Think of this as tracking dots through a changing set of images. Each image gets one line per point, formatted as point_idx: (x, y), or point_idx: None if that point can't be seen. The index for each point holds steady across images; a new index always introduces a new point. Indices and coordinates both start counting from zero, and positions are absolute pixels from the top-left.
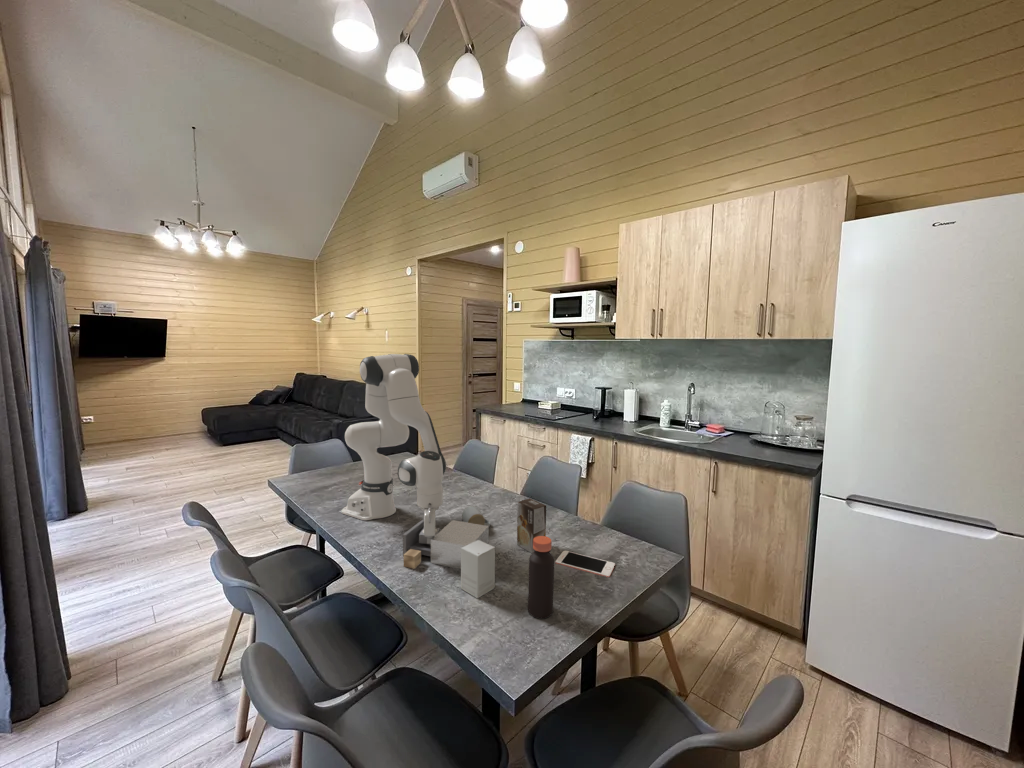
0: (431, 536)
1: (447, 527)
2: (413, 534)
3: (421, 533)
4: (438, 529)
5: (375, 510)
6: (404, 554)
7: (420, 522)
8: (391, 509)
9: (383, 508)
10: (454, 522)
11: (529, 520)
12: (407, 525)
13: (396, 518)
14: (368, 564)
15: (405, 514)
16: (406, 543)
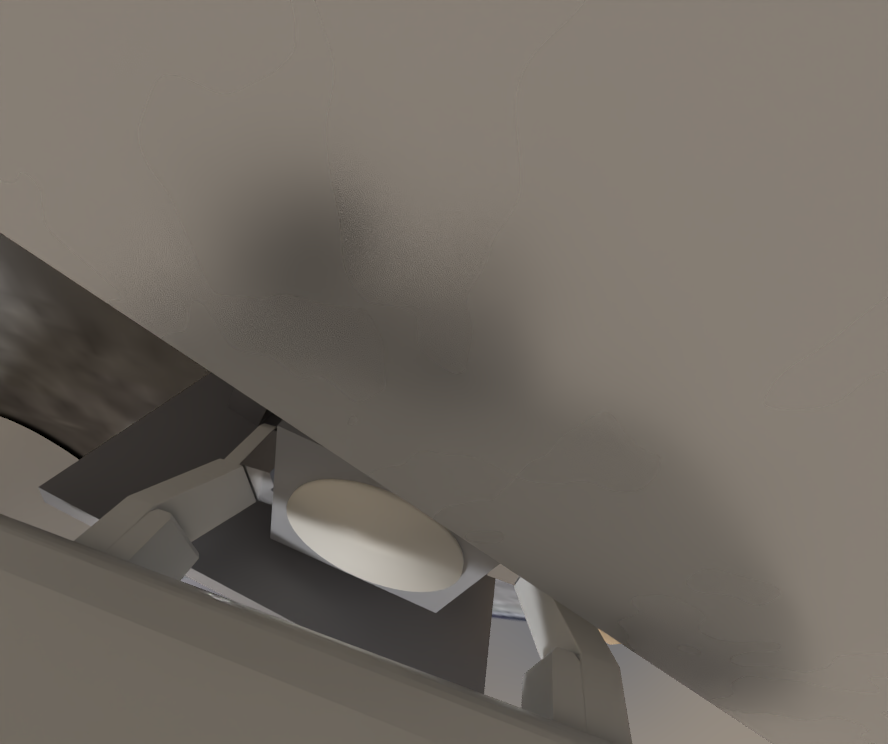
0: (590, 631)
1: (417, 448)
2: (396, 603)
3: (412, 595)
4: (332, 460)
5: (73, 524)
6: (611, 641)
7: (220, 589)
8: (14, 457)
9: (37, 503)
10: (11, 117)
11: None
12: (126, 412)
13: (75, 431)
14: (495, 607)
15: (10, 387)
16: (484, 618)
